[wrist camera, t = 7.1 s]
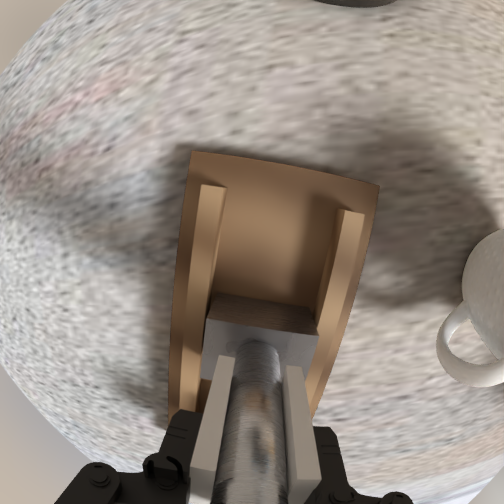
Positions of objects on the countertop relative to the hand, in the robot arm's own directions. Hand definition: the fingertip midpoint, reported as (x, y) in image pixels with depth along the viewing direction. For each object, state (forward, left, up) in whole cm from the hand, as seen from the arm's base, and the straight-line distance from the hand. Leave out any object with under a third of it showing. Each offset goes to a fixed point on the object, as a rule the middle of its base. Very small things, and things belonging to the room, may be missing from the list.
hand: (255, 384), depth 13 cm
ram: (0, 0, -6) cm, 6 cm away
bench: (+2, 0, -9) cm, 9 cm away
